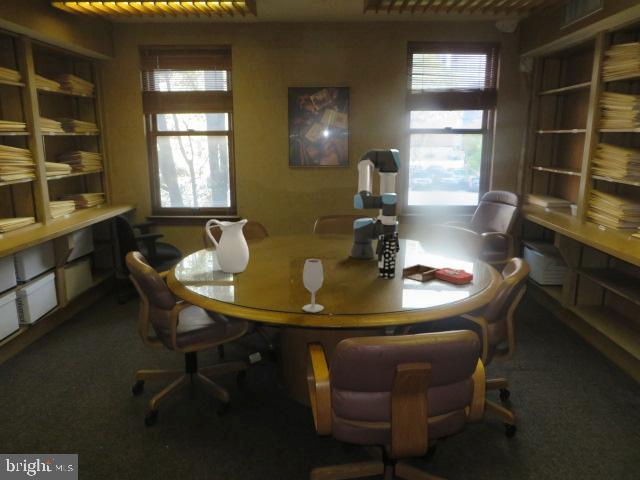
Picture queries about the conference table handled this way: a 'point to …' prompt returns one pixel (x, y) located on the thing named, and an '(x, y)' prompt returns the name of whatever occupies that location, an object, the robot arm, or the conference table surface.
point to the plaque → (454, 275)
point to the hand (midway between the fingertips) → (387, 265)
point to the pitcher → (231, 246)
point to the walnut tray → (419, 272)
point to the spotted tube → (388, 259)
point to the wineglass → (313, 282)
